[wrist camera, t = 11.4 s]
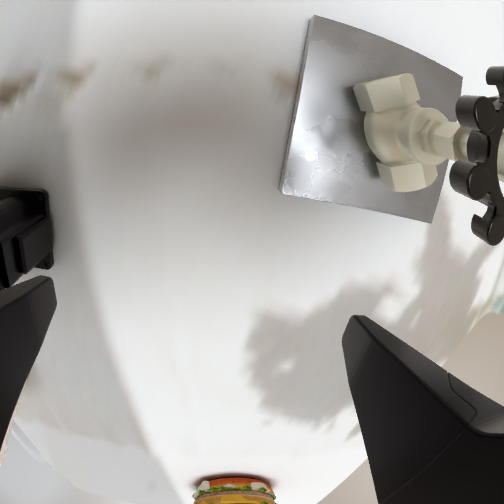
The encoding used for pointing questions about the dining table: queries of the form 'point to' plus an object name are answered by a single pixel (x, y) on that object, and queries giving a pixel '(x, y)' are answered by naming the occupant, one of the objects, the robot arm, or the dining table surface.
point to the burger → (234, 492)
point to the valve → (439, 143)
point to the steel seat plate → (356, 120)
